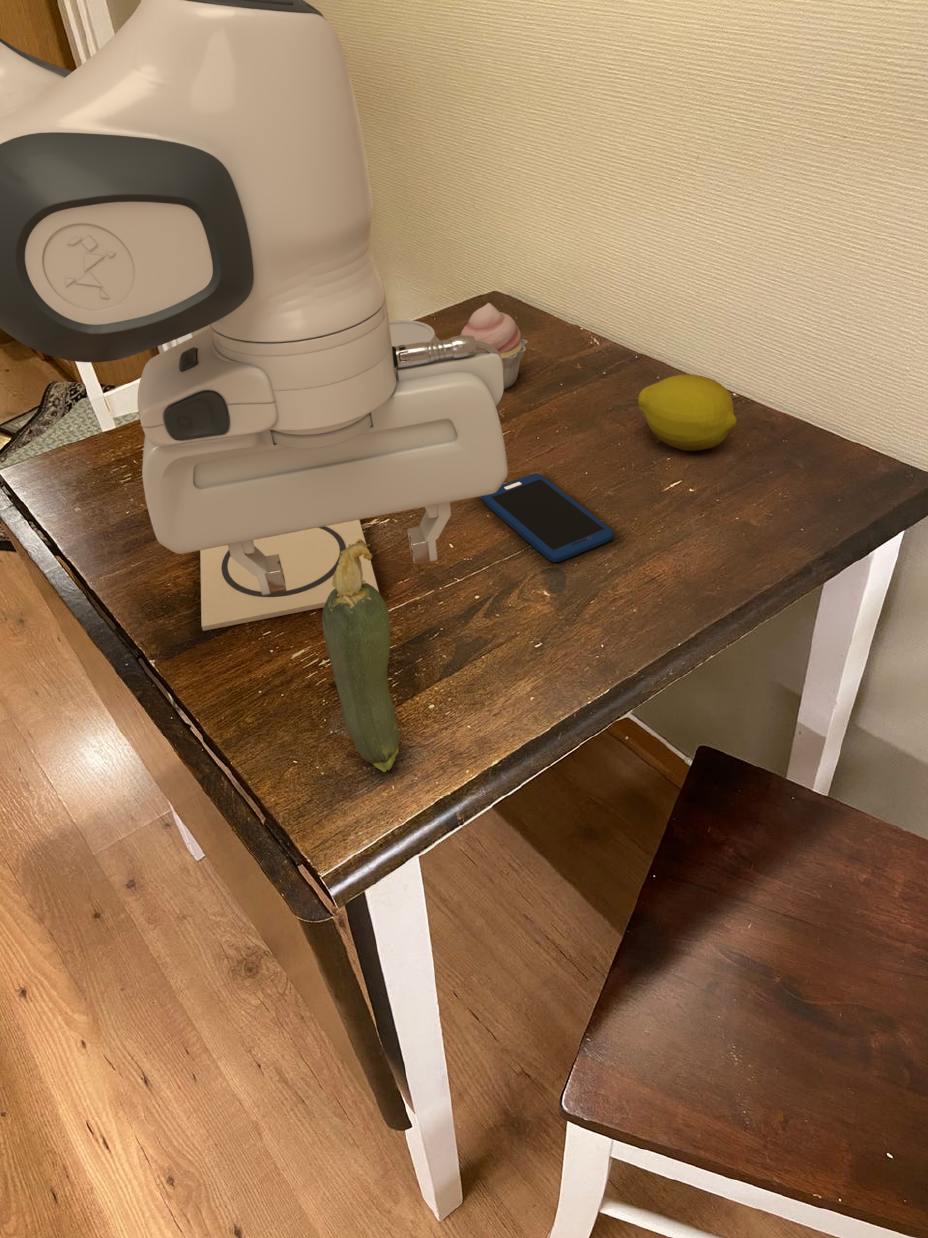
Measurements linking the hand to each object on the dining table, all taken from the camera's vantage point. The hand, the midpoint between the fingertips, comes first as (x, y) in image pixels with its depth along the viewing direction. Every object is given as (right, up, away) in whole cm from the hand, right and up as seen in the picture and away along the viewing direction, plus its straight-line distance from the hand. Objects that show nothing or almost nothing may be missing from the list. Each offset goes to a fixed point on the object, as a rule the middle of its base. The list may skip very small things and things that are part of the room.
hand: (349, 572), depth 55 cm
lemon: (+32, +16, +43) cm, 56 cm away
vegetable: (+1, -13, +11) cm, 18 cm away
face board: (-10, +3, +31) cm, 33 cm away
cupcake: (+11, +27, +58) cm, 65 cm away
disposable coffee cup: (0, +19, +49) cm, 52 cm away
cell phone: (+15, +7, +34) cm, 38 cm away
